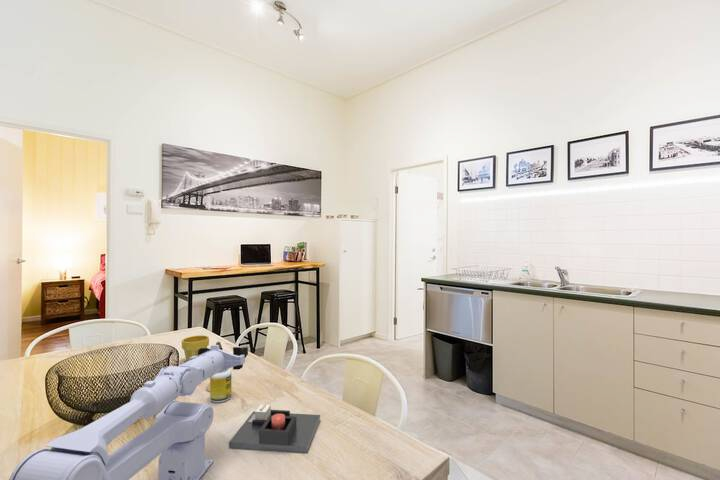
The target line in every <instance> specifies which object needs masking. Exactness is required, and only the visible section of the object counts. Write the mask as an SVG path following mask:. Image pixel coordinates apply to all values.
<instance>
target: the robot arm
mask: <svg viewBox="0 0 720 480" xmlns="http://www.w3.org/2000/svg"><path fill="white" fill-rule="evenodd" d="M232 351H233V353H231V352H228V351H225V350H223V347H222V348H219V345H216V344H212V345H210V348H208V347H207V348H201V349H199V350H198V356H193V357H190V358H189V361H188V362H187V361H186V362H184V363H181V364H179V365H178V366H176V365H175V366H174V365H169V366H165V367H162V368H161V369H160V370H159V372H158V373H157V375H156V377H154V378H153V379H152V380H148V381H145V382H144V384H143V386H142V387H140V388H138V389H137V390H135V391H134V392H133V393H132V395H131V397H130V400H129V402H127V403H125V404H123V405H121V406H120V407H118V408H116V409H114V410H112V411H110V412H108V413H107V414H104V415H103V416H102V417H100V418H97V419H96V420H94V421H92V422H91V423H89V424H87V425H85V426H83V427H81V428H79V429H77V430H74V431H72V432H69V433H67V434H64V435H61V436H58V437H55V438H54V439H52V440H50V441H48V443H47V444H45V445H44V447H48V448H41V449H38V450H37V449H36V450H34V451H32V452H30V453H29V454H28V455H26V456H25V457H24V458H22V460H21V461H19V463H18V464H17V465H16V467H15V468H14V469H13V471H12V473H11V474H10V476H9V479H8V480H130V479H132V478H133V477H134V476H135V475H137V474H138V473H139V472H140V471H142V470H143V469H144V468H145V467H146V466H148V465H149V464H150V463H152V462H153V461H154V460H156V458H158V480H201V478H202V476H204V474H205V473H206V471H207V470H209V467H210V466H211V465H212V464H213V463H214V460H213V459H206V435H205V434H206V433H207V432H208V431H209V429H210V427H211V426H212V423H213V420H214V408H213V405H212V404H211V403H195V402H185V401H178V400H176V399H178V398H179V397H186V396H188V397H191V396H192V395H193V393H195V391H196V389H197V387H198V386H199V385H201V384H202V383H203V382H205V381H206V380H208V379H210V377H211V376H213V375H215V374H216V373H220V372H222V371H224V370H227V369H231V368H232V370H235V371H237V370H241V369H243V368H244V367H243V366H244V364H245V362H246V358H247V356H248V355H249V350H248V346H245V347H238V346H237V347H236V346H233V347H232ZM153 416H155V418H154V422H153V424H152V425H151V426H150V427H148V428H147V429H145V430H144V431H142V432H141V433H139V434H138V435H136V436H135V437H133V438H132V439H131V440H129V441H128V442H126V443H124V444H123V445H122V446H120V447H119V448H117V449H116V450H114V451H112V453H109V454H108V445H109V444H110V443H112V442H113V441H114V440H115V439H116V438H118V437H119V436H120V435H121V434H122V433H123V432H125V431H126V430H128V428H130V427H131V426H132V425H133V424H135V423H136V422H137V421H138V420H139V419H150V418H152V417H153ZM49 448H50V449H49Z"/></svg>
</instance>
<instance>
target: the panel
mask: <svg viewBox="0 0 720 480" xmlns="http://www.w3.org/2000/svg"><path fill="white" fill-rule="evenodd" d="M255 411H256V410H255ZM255 411H252V412H251V414H250V415H249V416H248V418H247V419H246V420H245V421H244V423H242V425H241V426H240V427H239V429H238V430H237V431H236V432H235V433H234V435H233V436H232V437H231V439H230V440H229V441H228V448H229V449H241V450H253V451H254V450H255V451H267V452H268V451H269V452H273V451H274V452H286V453H301V454H308V452H309V449H310V446H311V445H312V441H313V439H314V436H315V434H316V432H317V429H318V428H319V424H320V422H321V414H310V413H309V414H306V413H291V410H283V409H282V410H281V409H271V415H270V416H269V417H268V418H267V420H255ZM275 414H284V415H285V428H284V429H282V430H276V429H272V416H273V415H275Z"/></svg>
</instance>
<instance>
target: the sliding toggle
mask: <svg viewBox="0 0 720 480" xmlns="http://www.w3.org/2000/svg"><path fill="white" fill-rule="evenodd" d="M271 407H272V405H271V404H267V403H265V402H264V403H263V404H261V403H260V404H259V406H258V407H257V409H255V420H267V418H268V417H269V416H270V415H271V410H272V409H271Z"/></svg>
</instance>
